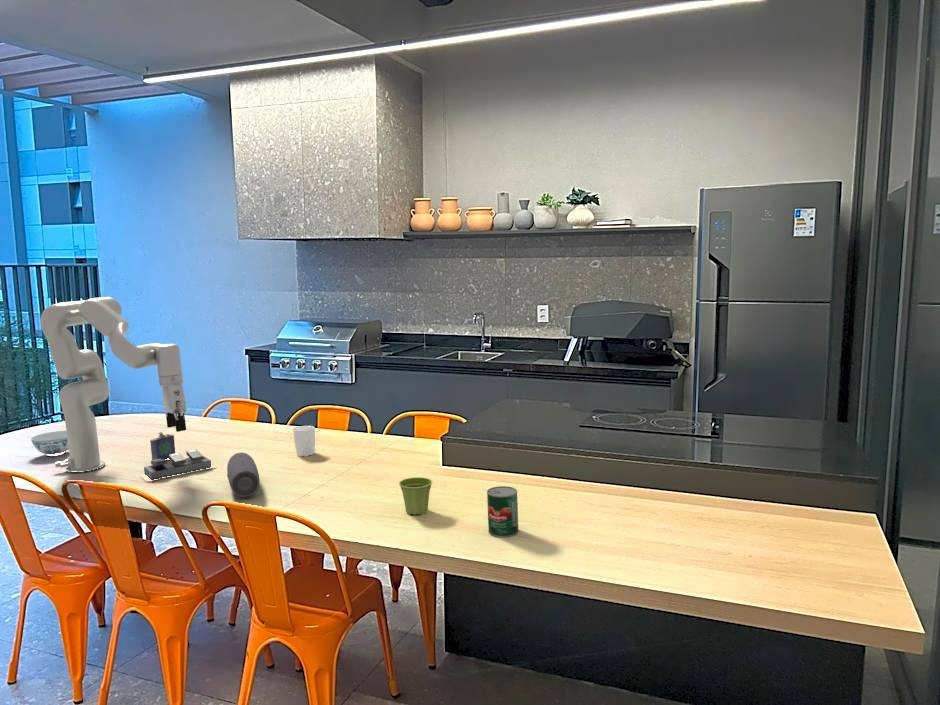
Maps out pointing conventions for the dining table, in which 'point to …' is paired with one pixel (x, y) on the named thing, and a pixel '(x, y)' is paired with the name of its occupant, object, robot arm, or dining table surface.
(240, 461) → the bluetooth speaker
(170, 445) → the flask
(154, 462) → the rocker left
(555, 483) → the dining table surface
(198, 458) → the rocker right
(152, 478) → the power strip
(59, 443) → the chinaware
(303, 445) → the white cup
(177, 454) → the rocker middle
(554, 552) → the dining table surface
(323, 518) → the dining table surface
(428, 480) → the plant pot
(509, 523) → the canned tomato
